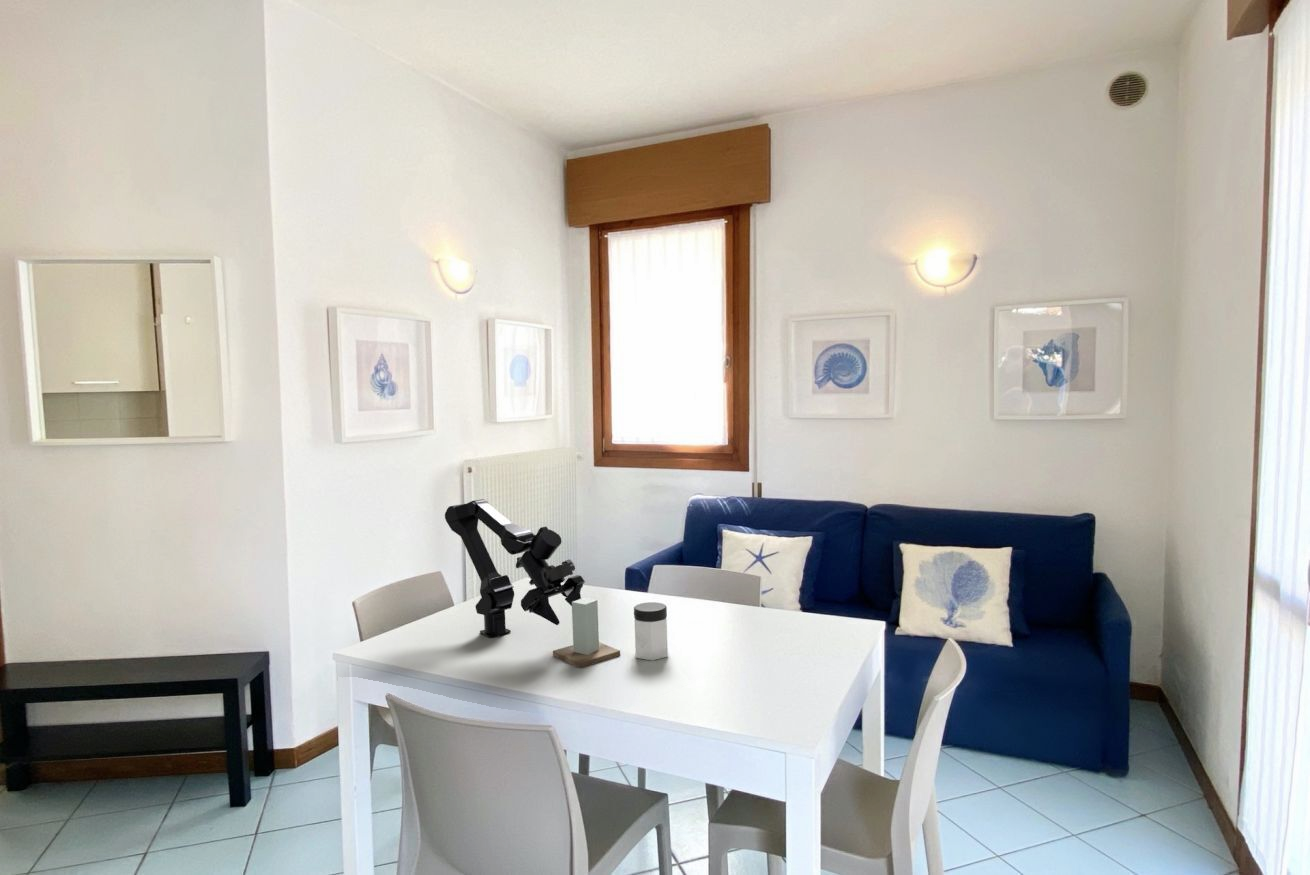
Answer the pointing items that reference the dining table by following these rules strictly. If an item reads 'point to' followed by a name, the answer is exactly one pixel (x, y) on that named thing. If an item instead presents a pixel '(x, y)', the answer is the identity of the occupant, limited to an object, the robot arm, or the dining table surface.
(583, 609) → the pale green square post
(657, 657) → the jar
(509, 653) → the dining table surface
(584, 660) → the plate
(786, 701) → the dining table surface
